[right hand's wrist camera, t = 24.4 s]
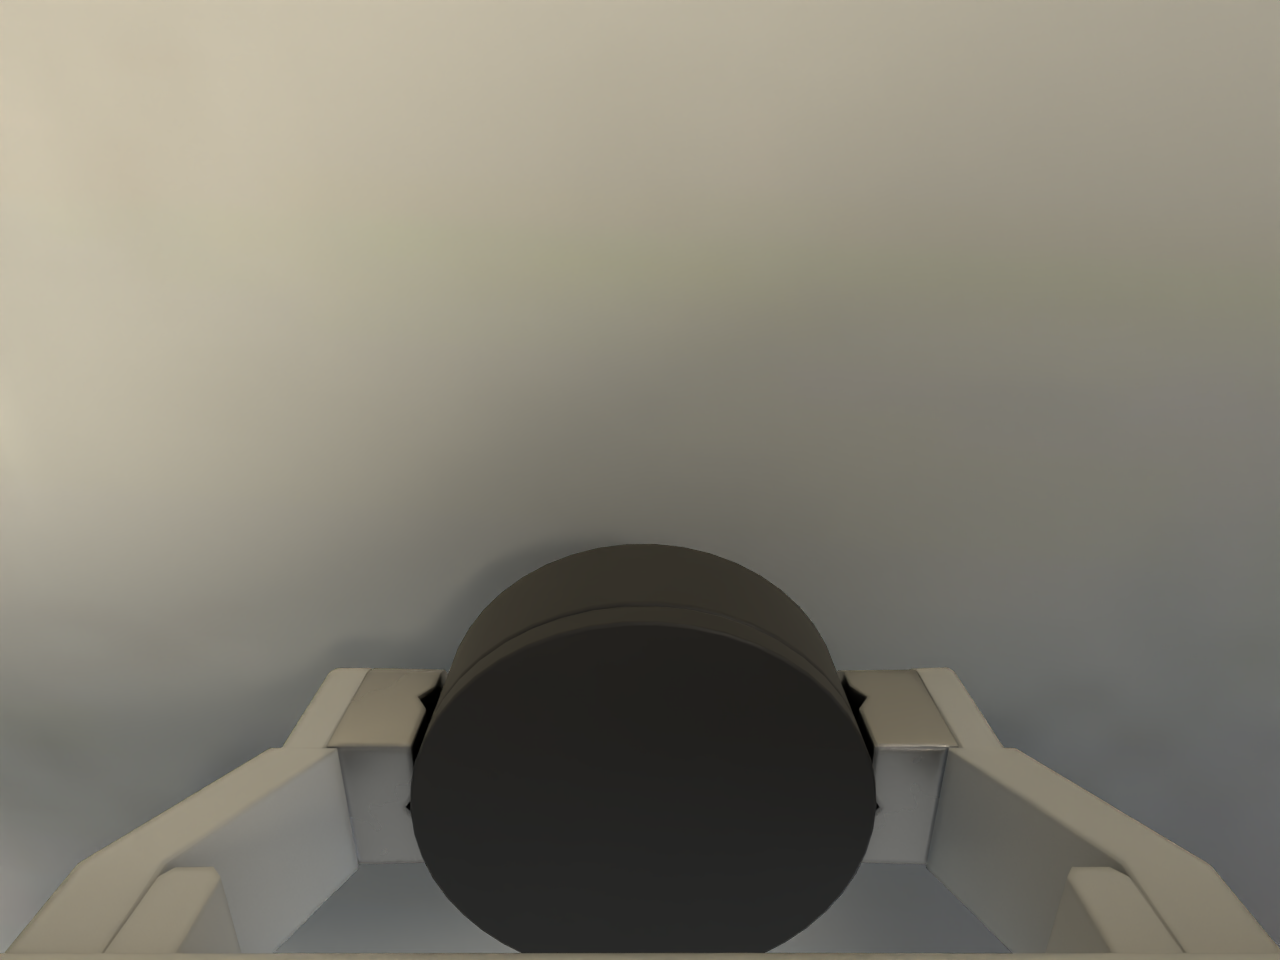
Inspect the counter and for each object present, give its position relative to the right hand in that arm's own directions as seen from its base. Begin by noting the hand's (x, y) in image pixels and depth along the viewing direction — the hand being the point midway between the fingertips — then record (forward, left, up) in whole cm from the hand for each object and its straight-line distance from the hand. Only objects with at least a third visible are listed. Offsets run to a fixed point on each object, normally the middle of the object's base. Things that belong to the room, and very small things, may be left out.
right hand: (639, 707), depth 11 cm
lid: (0, 0, +2) cm, 2 cm away
